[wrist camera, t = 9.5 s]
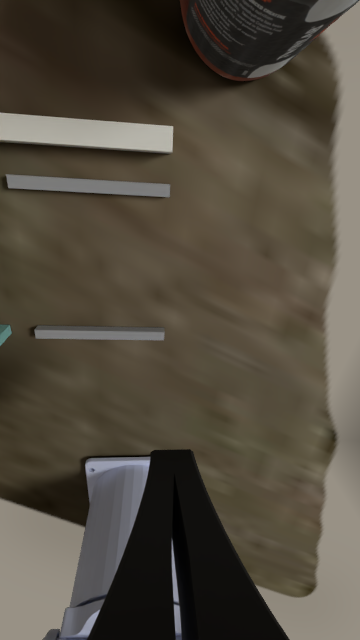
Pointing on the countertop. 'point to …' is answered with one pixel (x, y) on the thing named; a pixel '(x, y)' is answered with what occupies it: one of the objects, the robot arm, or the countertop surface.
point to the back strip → (85, 133)
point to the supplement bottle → (255, 32)
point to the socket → (4, 333)
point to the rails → (92, 187)
